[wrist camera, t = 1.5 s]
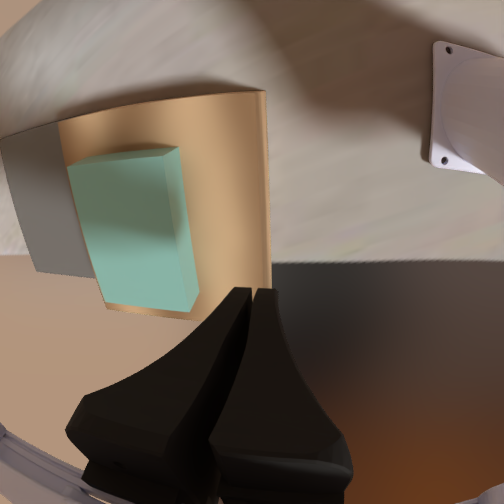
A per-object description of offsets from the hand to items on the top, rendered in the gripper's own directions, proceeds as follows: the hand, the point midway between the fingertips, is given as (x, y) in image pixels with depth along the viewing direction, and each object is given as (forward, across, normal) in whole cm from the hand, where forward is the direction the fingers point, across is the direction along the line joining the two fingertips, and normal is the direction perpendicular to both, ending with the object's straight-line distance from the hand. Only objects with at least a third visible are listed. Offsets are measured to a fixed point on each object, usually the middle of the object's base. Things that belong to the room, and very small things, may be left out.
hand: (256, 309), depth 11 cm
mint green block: (+6, +8, 0) cm, 10 cm away
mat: (+11, +19, 0) cm, 21 cm away
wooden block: (+10, +7, 0) cm, 12 cm away
